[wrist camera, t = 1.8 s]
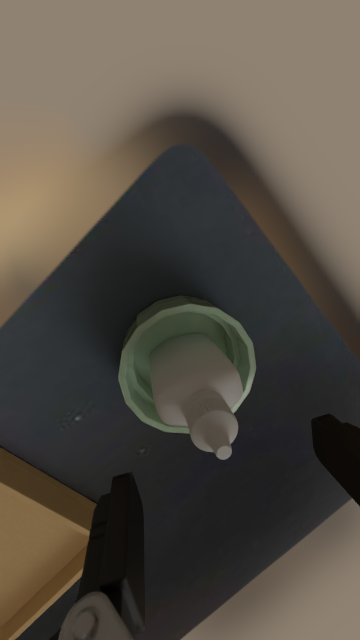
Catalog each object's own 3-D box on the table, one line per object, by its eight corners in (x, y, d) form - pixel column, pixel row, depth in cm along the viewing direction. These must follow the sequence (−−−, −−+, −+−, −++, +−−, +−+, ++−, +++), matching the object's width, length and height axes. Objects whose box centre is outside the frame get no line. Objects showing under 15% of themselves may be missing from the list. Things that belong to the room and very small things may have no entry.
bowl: (109, 310, 21) (101, 324, 17) (225, 283, 22) (246, 290, 18) (139, 413, 24) (138, 448, 20) (241, 385, 25) (262, 413, 20)
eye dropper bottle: (205, 379, 24) (267, 495, 12) (145, 371, 22) (151, 491, 11) (216, 334, 23) (295, 415, 11) (154, 324, 22) (171, 401, 10)
